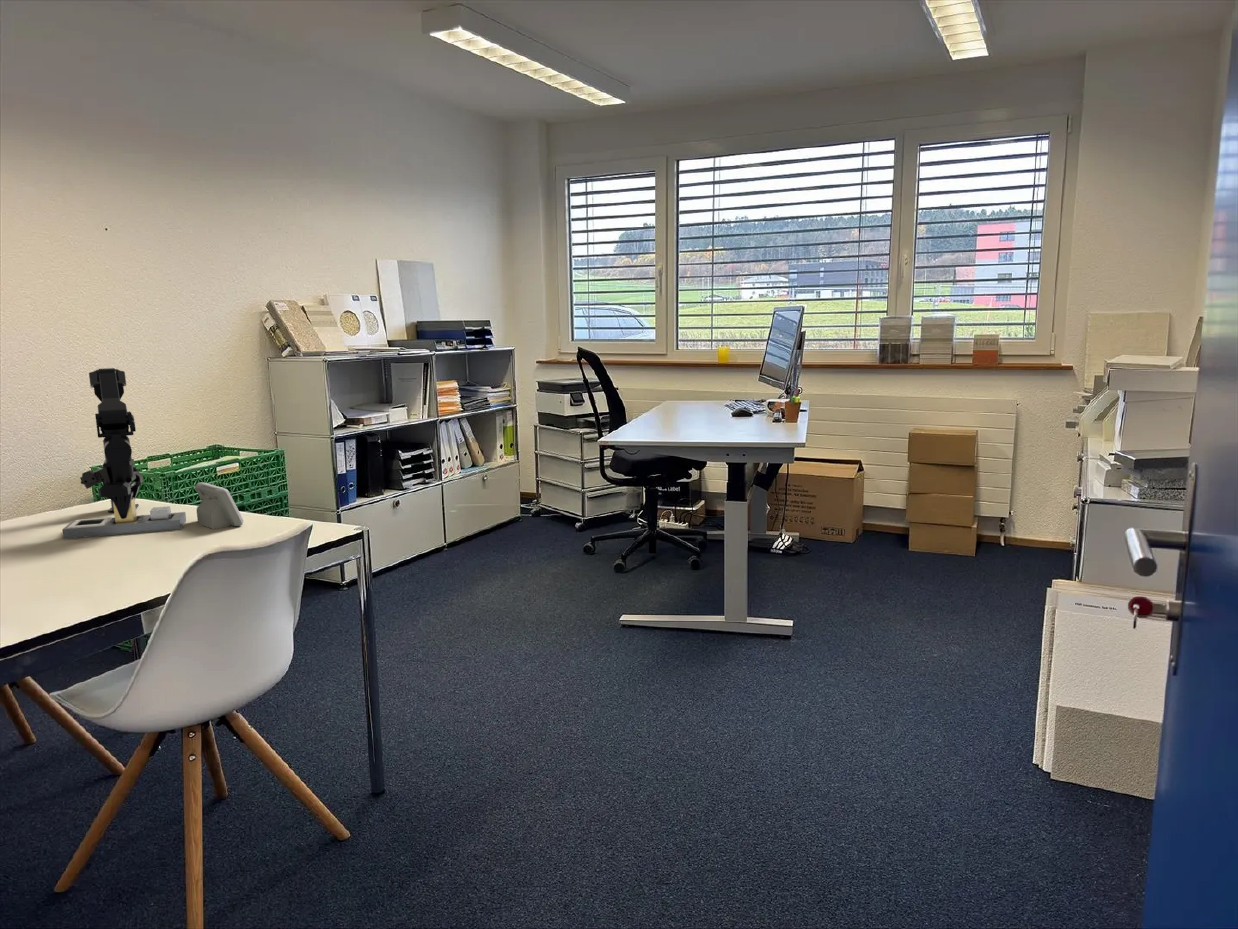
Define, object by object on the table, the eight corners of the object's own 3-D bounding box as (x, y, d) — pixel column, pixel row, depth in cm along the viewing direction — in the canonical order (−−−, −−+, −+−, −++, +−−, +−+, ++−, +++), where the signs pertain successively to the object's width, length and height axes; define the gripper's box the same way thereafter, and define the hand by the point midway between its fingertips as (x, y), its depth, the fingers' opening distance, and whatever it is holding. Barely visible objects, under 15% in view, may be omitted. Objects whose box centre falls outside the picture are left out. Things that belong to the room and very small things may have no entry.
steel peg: (155, 526, 212) (153, 507, 211) (172, 524, 214) (170, 506, 213) (152, 529, 209) (149, 511, 208) (169, 528, 210) (167, 509, 209)
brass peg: (120, 528, 210) (116, 498, 208) (137, 527, 211) (134, 497, 209) (116, 532, 206) (112, 502, 204) (134, 531, 207) (130, 500, 206)
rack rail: (74, 530, 208) (72, 519, 208) (186, 520, 217) (185, 510, 216) (63, 539, 200) (62, 528, 199) (180, 529, 209) (179, 518, 208)
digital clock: (245, 527, 211) (242, 487, 209) (208, 533, 205) (203, 492, 203) (229, 515, 223) (226, 477, 221) (193, 520, 218) (189, 482, 216)
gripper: (91, 453, 211) (99, 511, 214) (70, 465, 194) (79, 528, 196) (139, 450, 214) (146, 507, 217) (123, 462, 197) (131, 524, 200)
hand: (125, 516), depth 208 cm, fingers closed on brass peg, 4 cm apart
